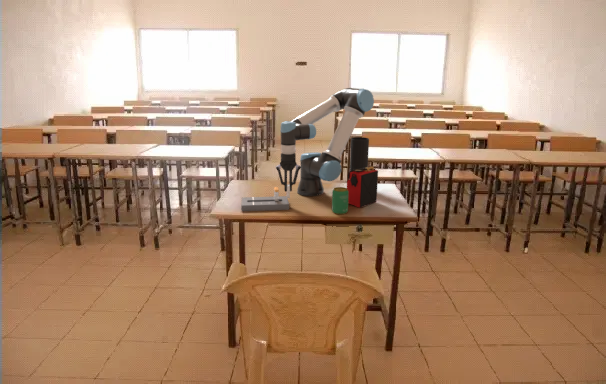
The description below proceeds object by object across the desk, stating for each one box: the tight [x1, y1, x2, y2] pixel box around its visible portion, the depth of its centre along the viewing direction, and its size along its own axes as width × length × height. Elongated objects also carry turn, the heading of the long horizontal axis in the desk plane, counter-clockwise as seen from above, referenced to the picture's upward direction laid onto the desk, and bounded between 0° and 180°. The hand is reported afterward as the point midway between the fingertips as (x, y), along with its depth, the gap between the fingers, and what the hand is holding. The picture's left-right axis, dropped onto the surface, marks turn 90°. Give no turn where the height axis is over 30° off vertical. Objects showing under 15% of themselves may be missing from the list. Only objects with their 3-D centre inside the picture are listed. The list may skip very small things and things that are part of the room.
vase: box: [349, 136, 370, 172], centre depth 266 cm, size 10×10×30 cm
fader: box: [273, 186, 280, 201], centre depth 237 cm, size 2×5×9 cm, turn 7°
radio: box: [346, 166, 379, 209], centre depth 241 cm, size 16×10×20 cm, turn 134°
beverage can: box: [331, 186, 349, 215], centre depth 228 cm, size 8×8×12 cm
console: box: [240, 195, 290, 212], centre depth 237 cm, size 24×14×3 cm, turn 97°
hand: (288, 197), depth 238 cm, fingers closed
